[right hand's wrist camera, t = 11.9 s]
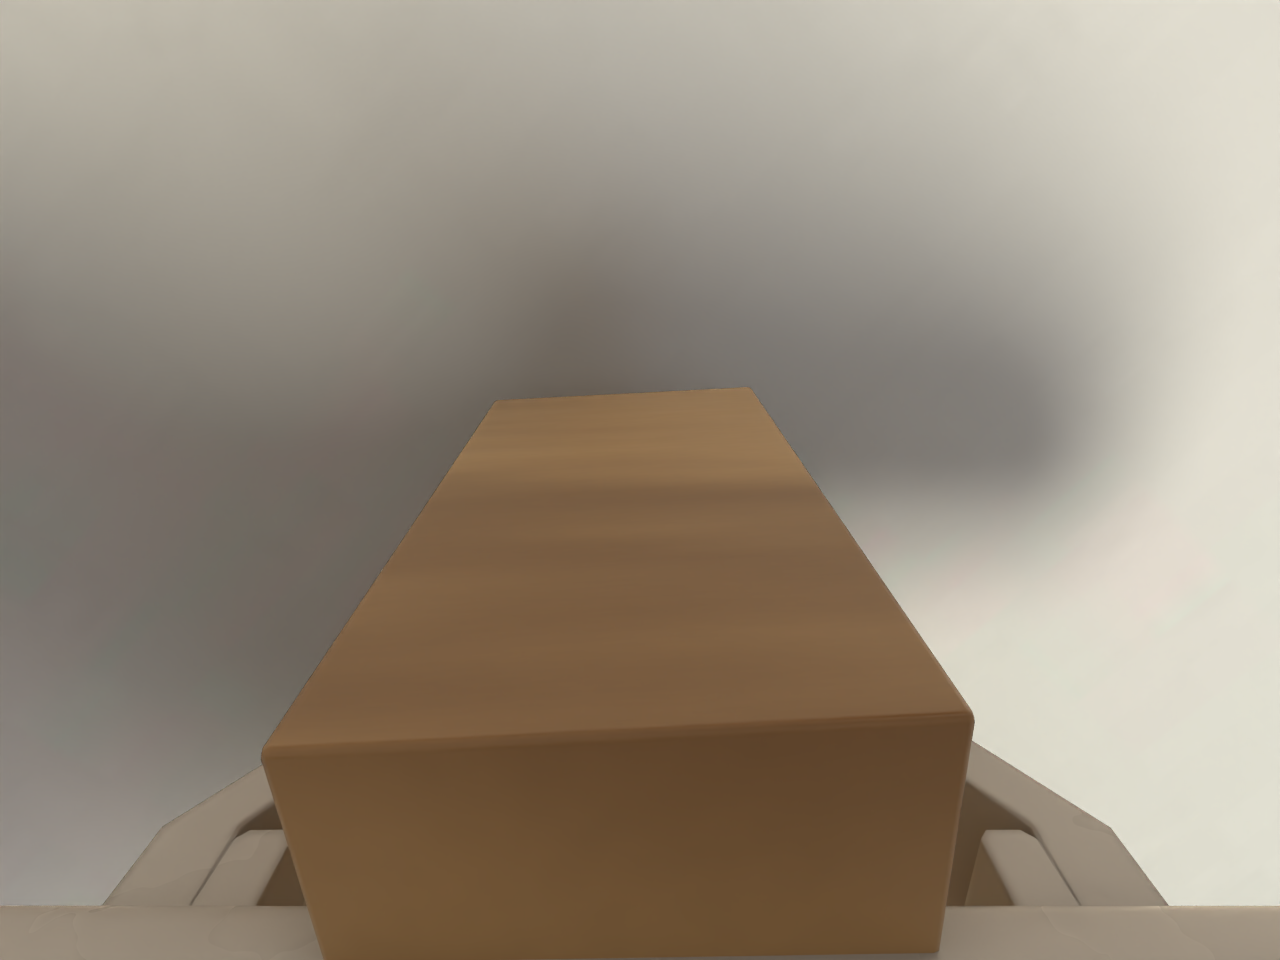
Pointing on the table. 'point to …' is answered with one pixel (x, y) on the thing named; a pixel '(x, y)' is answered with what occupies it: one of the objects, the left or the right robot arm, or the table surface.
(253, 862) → the right robot arm
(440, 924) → the bar
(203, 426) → the table surface
